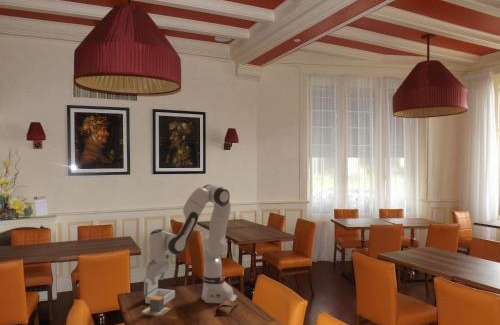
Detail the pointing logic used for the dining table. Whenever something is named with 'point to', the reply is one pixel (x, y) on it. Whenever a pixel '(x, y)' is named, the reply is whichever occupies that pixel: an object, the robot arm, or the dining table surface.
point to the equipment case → (156, 291)
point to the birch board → (161, 313)
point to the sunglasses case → (226, 307)
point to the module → (156, 303)
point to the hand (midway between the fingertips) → (157, 282)
